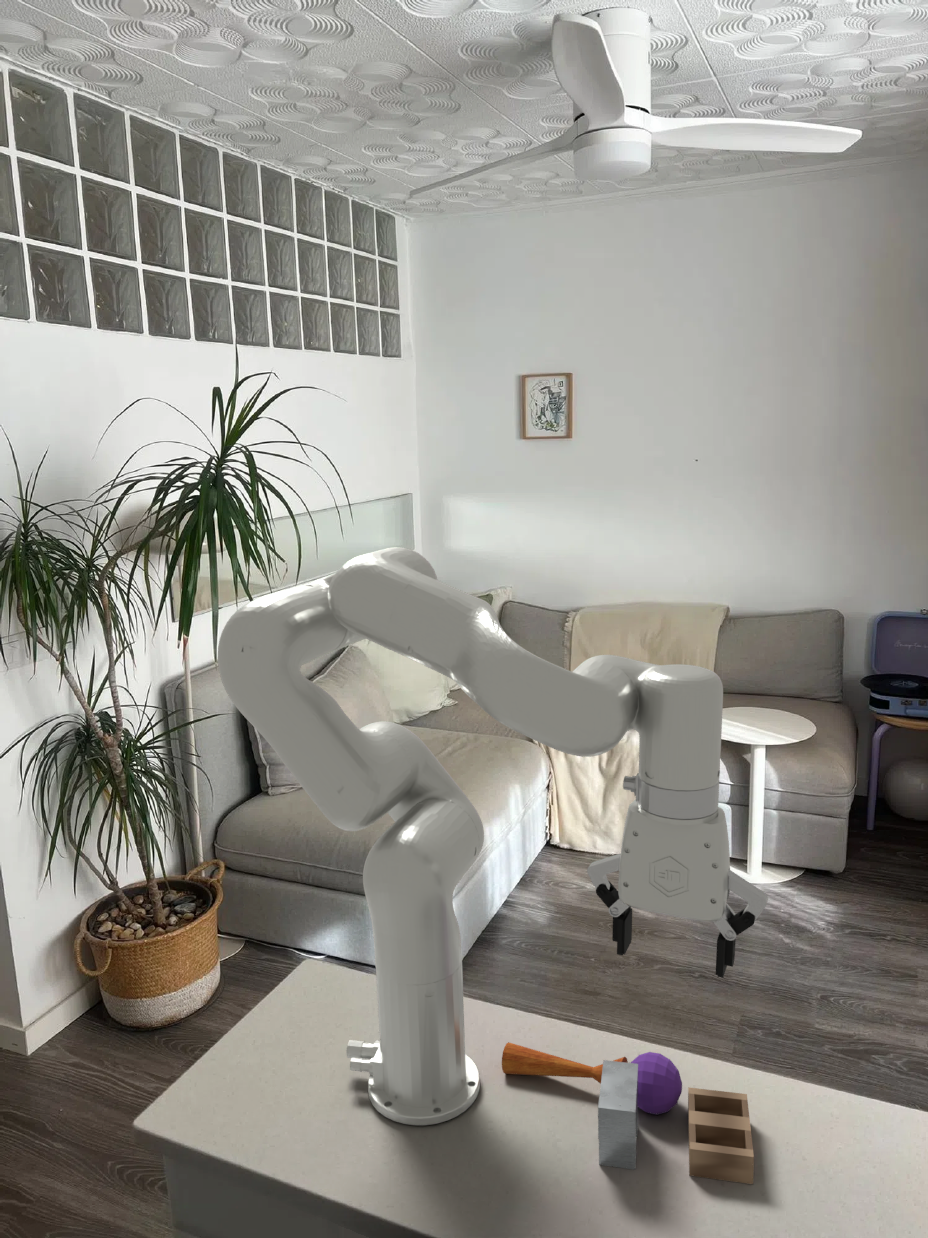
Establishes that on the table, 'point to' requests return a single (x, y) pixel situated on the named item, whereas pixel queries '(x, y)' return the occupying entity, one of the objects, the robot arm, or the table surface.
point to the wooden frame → (719, 1136)
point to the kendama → (654, 1074)
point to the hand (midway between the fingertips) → (672, 959)
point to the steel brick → (618, 1114)
